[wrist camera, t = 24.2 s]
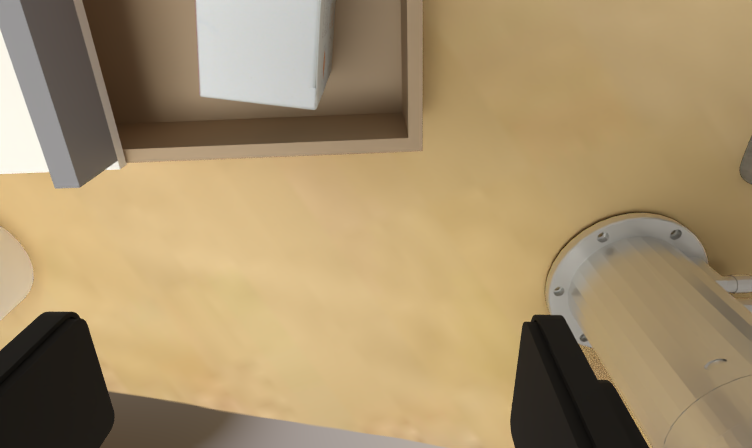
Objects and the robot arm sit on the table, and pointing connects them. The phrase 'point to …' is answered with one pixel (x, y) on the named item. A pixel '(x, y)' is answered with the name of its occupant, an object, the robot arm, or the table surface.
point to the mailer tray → (251, 120)
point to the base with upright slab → (13, 272)
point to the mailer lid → (53, 95)
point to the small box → (265, 50)
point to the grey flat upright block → (747, 164)
